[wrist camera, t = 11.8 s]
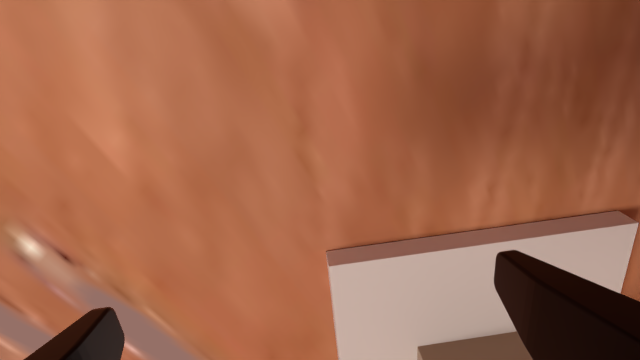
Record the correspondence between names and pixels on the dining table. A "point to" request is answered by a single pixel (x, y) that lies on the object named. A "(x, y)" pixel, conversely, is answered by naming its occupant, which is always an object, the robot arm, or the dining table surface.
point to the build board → (460, 287)
